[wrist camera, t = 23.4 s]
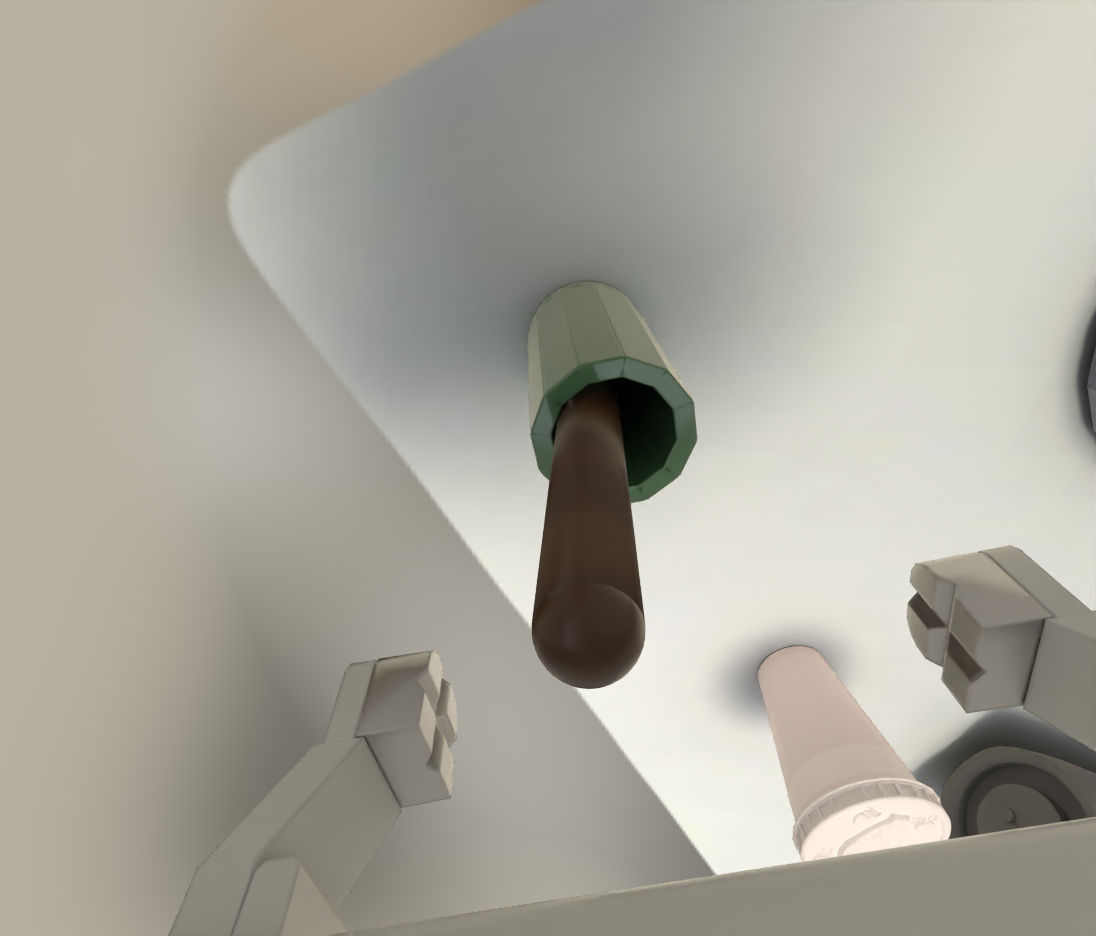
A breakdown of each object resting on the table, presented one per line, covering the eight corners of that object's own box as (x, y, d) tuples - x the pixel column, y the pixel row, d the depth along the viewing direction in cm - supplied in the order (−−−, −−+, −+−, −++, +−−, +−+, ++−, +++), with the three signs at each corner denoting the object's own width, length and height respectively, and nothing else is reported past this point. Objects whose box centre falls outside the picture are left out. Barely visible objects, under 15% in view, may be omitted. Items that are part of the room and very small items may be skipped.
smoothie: (715, 701, 36) (815, 999, 24) (761, 617, 33) (901, 909, 21) (817, 717, 37) (963, 1011, 25) (870, 637, 34) (1064, 926, 22)
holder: (517, 294, 25) (516, 377, 17) (634, 269, 25) (688, 343, 17) (541, 401, 27) (550, 519, 19) (648, 380, 27) (702, 490, 19)
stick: (562, 330, 25) (514, 628, 9) (607, 321, 25) (641, 612, 9) (570, 373, 26) (540, 719, 10) (614, 365, 26) (657, 708, 10)
